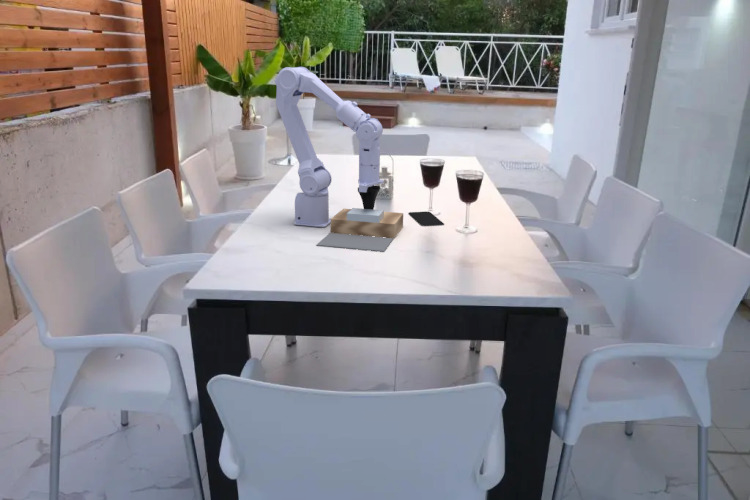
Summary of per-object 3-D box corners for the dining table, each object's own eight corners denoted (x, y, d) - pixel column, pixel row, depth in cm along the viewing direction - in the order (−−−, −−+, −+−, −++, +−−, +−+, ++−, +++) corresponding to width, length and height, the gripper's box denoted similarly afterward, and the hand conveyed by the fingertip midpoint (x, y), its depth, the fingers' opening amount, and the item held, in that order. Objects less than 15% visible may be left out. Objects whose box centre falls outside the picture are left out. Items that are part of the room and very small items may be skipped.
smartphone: (421, 225, 171) (407, 212, 185) (421, 227, 171) (407, 214, 185) (445, 224, 172) (429, 211, 186) (445, 226, 173) (429, 213, 186)
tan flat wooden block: (330, 232, 164) (330, 218, 162) (343, 221, 175) (343, 208, 173) (394, 238, 159) (394, 224, 158) (402, 226, 171) (403, 213, 169)
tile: (346, 220, 161) (346, 213, 161) (352, 214, 167) (352, 207, 166) (378, 222, 159) (379, 215, 159) (383, 217, 165) (383, 210, 164)
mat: (316, 245, 152) (316, 244, 152) (329, 233, 163) (329, 232, 163) (384, 252, 148) (384, 250, 148) (393, 239, 159) (393, 238, 158)
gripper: (377, 169, 155) (376, 219, 159) (389, 160, 168) (388, 206, 172) (351, 168, 156) (351, 217, 160) (365, 159, 169) (364, 205, 174)
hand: (368, 212), depth 166 cm, fingers closed
